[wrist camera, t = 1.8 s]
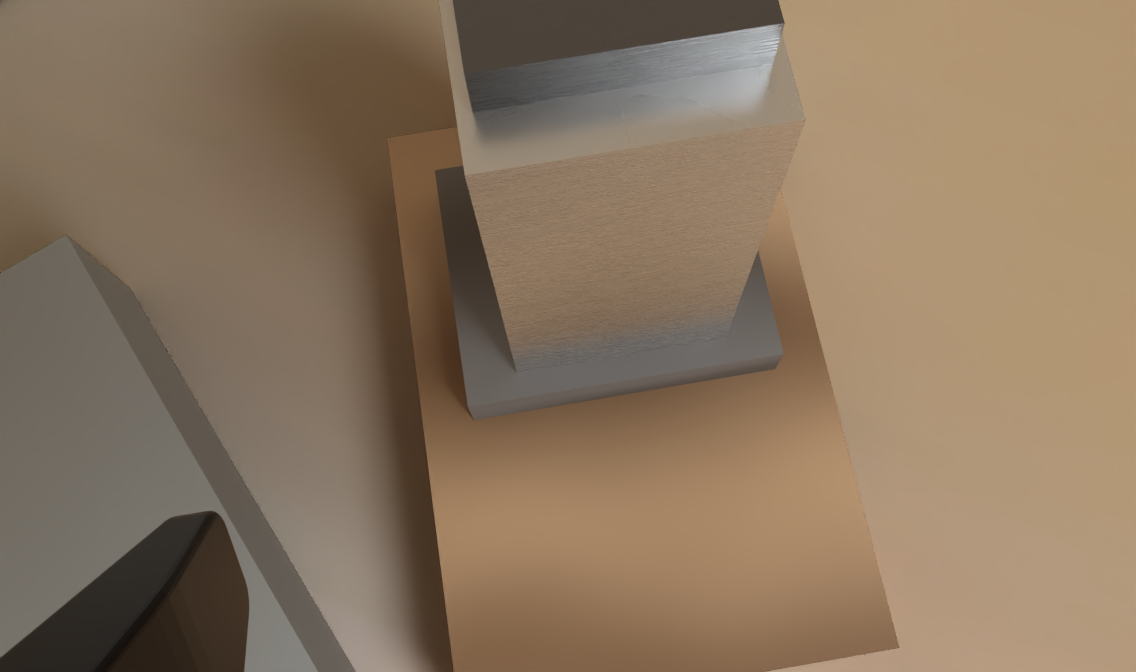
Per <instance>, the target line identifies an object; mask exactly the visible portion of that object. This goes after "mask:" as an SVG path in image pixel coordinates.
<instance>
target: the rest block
mask: <svg viewBox="0 0 1136 672" xmlns="http://www.w3.org/2000/svg"><path fill="white" fill-rule="evenodd" d="M203 511H214V512H216V513H218V514H219V515H220V516H221V517H222V519H223V520H224V522H225V524H226V527H227V530H228V532H229V535H230V538H231V541H232V544H233V546H234V549H235V552H236V555H237V558H238V561H239V563H240V566H241V569H242V572H243V575H244V578H245V580H246V584H247V588H248V594H249V621H248V633H247V645H246V657H245V669H244V672H355V670H354V668H353V667H352V665H351V663H350V662H349V660H348V658H347V656H346V655H345V653H344V651H343V650H342V648H341V646H340V645H339V643H338V641H337V639H336V638H335V636H334V634H333V633H332V631H331V629H330V628H329V626H328V624H327V622H326V621H325V619H324V617H323V616H322V614H321V612H320V611H319V609H318V607H317V605H316V604H315V602H314V600H313V599H312V597H311V595H310V594H309V592H308V590H307V588H306V587H305V585H304V583H303V582H302V580H301V578H300V577H299V575H298V573H297V571H296V570H295V568H294V566H293V565H292V563H291V561H290V559H289V558H288V556H287V554H286V553H285V551H284V549H283V548H282V546H281V544H280V542H279V541H278V539H277V537H276V536H275V534H274V532H273V531H272V529H271V527H270V525H269V524H268V522H267V520H266V519H265V517H264V515H263V514H262V512H261V510H260V508H259V507H258V505H257V503H256V502H255V500H254V498H253V497H252V495H251V493H250V491H249V490H248V488H247V486H246V485H245V483H244V481H243V480H242V478H241V476H240V474H239V473H238V471H237V469H236V468H235V466H234V464H233V463H232V461H231V459H230V457H229V456H228V454H227V452H226V451H225V449H224V447H223V446H222V444H221V442H220V440H219V439H218V437H217V435H216V434H215V432H214V430H213V429H212V427H211V425H210V423H209V422H208V420H207V418H206V417H205V415H204V413H203V411H202V410H201V408H200V406H199V405H198V403H197V401H196V400H195V398H194V396H193V394H192V393H191V391H190V389H189V388H188V386H187V384H186V383H185V381H184V379H183V377H182V376H181V374H180V372H179V371H178V369H177V367H176V366H175V364H174V362H173V360H172V359H171V357H170V355H169V354H168V352H167V350H166V349H165V347H164V345H163V343H162V342H161V340H160V338H159V337H158V335H157V333H156V332H155V330H154V328H153V326H152V325H151V323H150V321H149V320H148V318H147V316H146V315H145V313H144V311H143V309H142V308H141V306H140V304H139V303H138V301H137V299H136V298H135V296H134V294H133V292H132V291H131V289H130V288H129V287H128V286H126V285H125V284H124V283H123V282H122V281H121V280H119V279H118V278H117V277H116V276H115V275H113V274H112V273H111V272H110V271H109V270H107V269H106V268H105V267H104V266H103V265H102V264H100V263H99V262H98V261H97V260H96V259H94V258H93V257H92V256H91V255H90V254H89V253H87V252H86V251H85V250H84V249H83V248H81V247H80V246H79V245H78V244H77V243H76V242H74V241H73V240H72V239H71V238H70V237H68V236H67V235H64V236H63V237H61V238H59V239H58V240H56V241H54V242H52V243H51V244H49V245H47V246H46V247H44V248H42V249H41V250H39V251H37V252H35V253H34V254H32V255H30V256H29V257H27V258H25V259H24V260H22V261H20V262H18V263H17V264H15V265H13V266H12V267H10V268H8V269H6V270H5V271H3V272H1V273H0V657H1V656H3V655H4V654H5V653H6V652H8V651H9V650H10V649H11V648H12V647H14V646H15V645H16V644H17V643H18V642H20V641H21V640H22V639H23V638H24V637H26V636H27V635H28V634H29V633H30V632H32V631H33V630H34V629H35V628H37V627H38V626H39V625H40V624H41V623H43V622H44V621H45V620H46V619H47V618H49V617H50V616H51V615H52V614H53V613H55V612H56V611H57V610H58V609H59V608H61V607H62V606H63V605H64V604H66V603H67V602H68V601H69V600H70V599H72V598H73V597H74V596H75V595H76V594H78V593H79V592H80V591H81V590H82V589H84V588H85V587H86V586H87V585H88V584H90V583H91V582H92V581H93V580H95V579H96V578H97V577H98V576H99V575H101V574H102V573H103V572H104V571H105V570H107V569H108V568H109V567H110V566H111V565H113V564H114V563H115V562H116V561H117V560H119V559H120V558H121V557H122V556H124V555H125V554H126V553H127V552H128V551H130V550H131V549H132V548H133V547H134V546H136V545H137V544H138V543H139V542H140V541H142V540H143V539H144V538H145V537H146V536H148V535H149V534H150V533H151V532H153V531H154V530H155V529H156V528H157V527H159V526H160V525H161V524H162V523H163V522H165V521H166V520H167V519H169V518H171V517H174V516H180V515H186V514H192V513H197V512H203Z"/></svg>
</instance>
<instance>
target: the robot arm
mask: <svg viewBox="0 0 1136 672" xmlns="http://www.w3.org/2000/svg"><path fill="white" fill-rule="evenodd" d="M248 621H249V594H248V588H247V584H246V580H245V578H244V575H243V572H242V569H241V566H240V563H239V561H238V558H237V555H236V552H235V549H234V546H233V544H232V541H231V538H230V535H229V532H228V530H227V527H226V524H225V522H224V520H223V519H222V517H221V516H220V515H219V514H218V513H216V512H214V511H203V512H197V513H192V514H186V515H180V516H174V517H171V518H169V519H167V520H166V521H165V522H163V523H162V524H161V525H160V526H159V527H157V528H156V529H155V530H154V531H153V532H151V533H150V534H149V535H148V536H146V537H145V538H144V539H143V540H142V541H140V542H139V543H138V544H137V545H136V546H134V547H133V548H132V549H131V550H130V551H128V552H127V553H126V554H125V555H124V556H122V557H121V558H120V559H119V560H117V561H116V562H115V563H114V564H113V565H111V566H110V567H109V568H108V569H107V570H105V571H104V572H103V573H102V574H101V575H99V576H98V577H97V578H96V579H95V580H93V581H92V582H91V583H90V584H88V585H87V586H86V587H85V588H84V589H82V590H81V591H80V592H79V593H78V594H76V595H75V596H74V597H73V598H72V599H70V600H69V601H68V602H67V603H66V604H64V605H63V606H62V607H61V608H59V609H58V610H57V611H56V612H55V613H53V614H52V615H51V616H50V617H49V618H47V619H46V620H45V621H44V622H43V623H41V624H40V625H39V626H38V627H37V628H35V629H34V630H33V631H32V632H30V633H29V634H28V635H27V636H26V637H24V638H23V639H22V640H21V641H20V642H18V643H17V644H16V645H15V646H14V647H12V648H11V649H10V650H9V651H8V652H6V653H5V654H4V655H3V656H1V657H0V672H244V669H245V657H246V645H247V633H248Z"/></svg>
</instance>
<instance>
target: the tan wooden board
mask: <svg viewBox="0 0 1136 672" xmlns="http://www.w3.org/2000/svg"><path fill="white" fill-rule="evenodd" d="M387 142H388V150H389V158H390V166H391V174H392V182H393V190H394V198H395V206H396V214H397V222H398V230H399V238H400V246H401V254H402V262H403V270H404V278H405V286H406V294H407V302H408V310H409V318H410V326H411V334H412V342H413V350H414V358H415V366H416V374H417V382H418V390H419V398H420V406H421V414H422V422H423V430H424V438H425V446H426V454H427V462H428V470H429V478H430V486H431V494H432V502H433V510H434V518H435V526H436V534H437V542H438V550H439V558H440V566H441V574H442V582H443V590H444V598H445V606H446V614H447V622H448V630H449V638H450V646H451V654H452V662H453V670H454V672H766V671H771V670H777V669H783V668H788V667H794V666H800V665H805V664H811V663H816V662H822V661H828V660H833V659H839V658H845V657H850V656H856V655H862V654H867V653H873V652H879V651H884V650H890V649H896V648H899V645H898V641H897V637H896V633H895V630H894V626H893V622H892V618H891V614H890V610H889V606H888V602H887V599H886V595H885V591H884V587H883V583H882V579H881V575H880V572H879V568H878V564H877V560H876V556H875V552H874V548H873V544H872V541H871V537H870V533H869V529H868V525H867V521H866V517H865V514H864V510H863V506H862V502H861V498H860V494H859V490H858V487H857V483H856V479H855V475H854V471H853V467H852V463H851V459H850V456H849V452H848V448H847V444H846V440H845V436H844V432H843V429H842V425H841V421H840V417H839V413H838V409H837V405H836V402H835V398H834V394H833V390H832V386H831V382H830V378H829V374H828V371H827V367H826V363H825V359H824V355H823V351H822V347H821V344H820V340H819V336H818V332H817V328H816V324H815V320H814V316H813V313H812V309H811V305H810V301H809V297H808V293H807V289H806V286H805V282H804V278H803V274H802V270H801V266H800V262H799V259H798V255H797V251H796V247H795V243H794V239H793V235H792V231H791V228H790V224H789V220H788V216H787V212H786V208H785V204H784V201H783V197H782V193H781V189H780V191H779V194H778V197H777V200H776V202H775V205H774V208H773V210H772V213H771V216H770V219H769V221H768V224H767V227H766V230H765V232H764V235H763V238H762V241H761V243H760V246H759V249H758V251H757V254H756V257H755V260H754V262H753V265H752V268H751V271H750V273H749V276H748V279H747V282H746V284H745V287H744V290H743V292H742V295H741V298H740V301H739V303H738V306H737V309H736V312H735V314H734V317H733V320H732V323H731V325H730V328H729V331H728V333H727V336H726V338H723V339H717V340H711V341H705V342H699V343H693V344H687V345H681V346H675V347H669V348H663V349H657V350H651V351H646V352H640V353H634V354H628V355H622V356H616V357H610V358H604V359H598V360H592V361H586V362H580V363H574V364H568V365H562V366H556V367H550V368H544V369H539V370H533V371H527V372H521V373H517V372H516V368H515V364H514V360H513V356H512V353H511V349H510V345H509V341H508V337H507V334H506V330H505V326H504V322H503V318H502V315H501V311H500V307H499V303H498V300H497V296H496V292H495V288H494V284H493V281H492V277H491V273H490V269H489V265H488V262H487V258H486V254H485V250H484V246H483V243H482V239H481V235H480V231H479V227H478V224H477V220H476V216H475V212H474V209H473V205H472V201H471V197H470V193H469V190H468V186H467V182H466V178H465V174H464V167H463V160H462V154H461V147H460V141H459V134H458V127H451V128H445V129H439V130H433V131H427V132H420V133H414V134H408V135H402V136H396V137H390V138H387Z"/></svg>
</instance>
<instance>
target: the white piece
mask: <svg viewBox="0 0 1136 672" xmlns="http://www.w3.org/2000/svg"><path fill="white" fill-rule="evenodd" d="M438 1H439V8H440V14H441V21H442V28H443V34H444V41H445V47H446V54H447V61H448V67H449V74H450V81H451V87H452V94H453V101H454V107H455V114H456V121H457V127H458V134H459V141H460V147H461V154H462V160H463V167H464V174H465V178H466V182H467V186H468V190H469V193H470V197H471V201H472V205H473V209H474V212H475V216H476V220H477V224H478V227H479V231H480V235H481V239H482V243H483V246H484V250H485V254H486V258H487V262H488V265H489V269H490V273H491V277H492V281H493V284H494V288H495V292H496V296H497V300H498V303H499V307H500V311H501V315H502V318H503V322H504V326H505V330H506V334H507V337H508V341H509V345H510V349H511V353H512V356H513V360H514V364H515V368H516V372H517V373H521V372H527V371H533V370H539V369H544V368H550V367H556V366H562V365H568V364H574V363H580V362H586V361H592V360H598V359H604V358H610V357H616V356H622V355H628V354H634V353H640V352H646V351H651V350H657V349H663V348H669V347H675V346H681V345H687V344H693V343H699V342H705V341H711V340H717V339H723V338H726V336H727V333H728V331H729V328H730V325H731V323H732V320H733V317H734V314H735V312H736V309H737V306H738V303H739V301H740V298H741V295H742V292H743V290H744V287H745V284H746V282H747V279H748V276H749V273H750V271H751V268H752V265H753V262H754V260H755V257H756V254H757V251H758V249H759V246H760V243H761V241H762V238H763V235H764V232H765V230H766V227H767V224H768V221H769V219H770V216H771V213H772V210H773V208H774V205H775V202H776V200H777V197H778V194H779V191H780V189H781V186H782V183H783V180H784V178H785V175H786V172H787V169H788V167H789V164H790V161H791V159H792V156H793V153H794V150H795V148H796V145H797V142H798V139H799V137H800V134H801V131H802V128H803V126H804V123H805V120H806V119H805V115H804V112H803V108H802V105H801V101H800V97H799V94H798V90H797V86H796V83H795V79H794V75H793V72H792V68H791V64H790V61H789V57H788V53H787V50H786V46H785V42H784V39H783V35H782V30H783V27H784V19H783V16H782V12H781V9H780V5H779V1H778V0H438Z"/></svg>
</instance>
